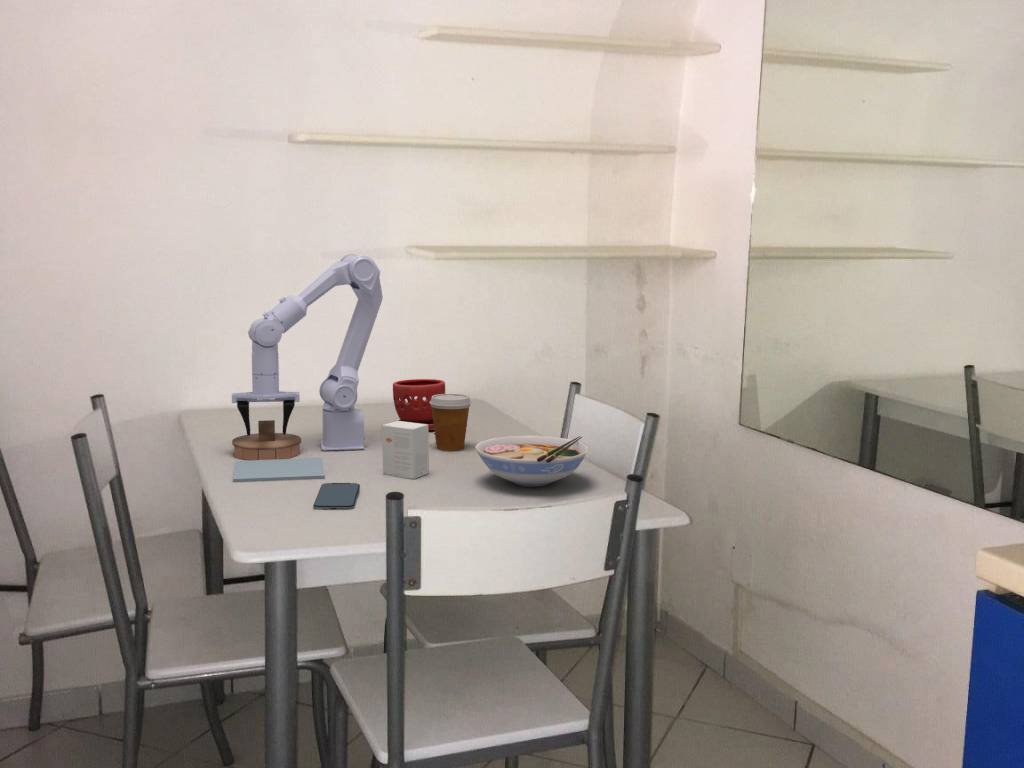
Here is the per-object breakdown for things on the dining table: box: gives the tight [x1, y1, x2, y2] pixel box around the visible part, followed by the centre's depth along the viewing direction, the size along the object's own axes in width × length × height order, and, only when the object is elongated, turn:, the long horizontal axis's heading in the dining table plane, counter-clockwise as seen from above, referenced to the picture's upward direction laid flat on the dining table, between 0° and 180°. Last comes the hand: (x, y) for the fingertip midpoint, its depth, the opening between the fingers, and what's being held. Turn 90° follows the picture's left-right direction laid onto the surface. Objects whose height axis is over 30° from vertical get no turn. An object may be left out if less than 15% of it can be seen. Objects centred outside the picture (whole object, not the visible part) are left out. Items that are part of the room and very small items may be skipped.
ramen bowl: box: [474, 435, 589, 488], centre depth 213 cm, size 25×23×8 cm
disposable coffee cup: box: [430, 393, 472, 452], centre depth 243 cm, size 10×10×12 cm
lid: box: [231, 419, 302, 450], centre depth 236 cm, size 15×15×5 cm
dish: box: [233, 444, 300, 461], centre depth 236 cm, size 14×14×2 cm
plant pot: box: [392, 378, 446, 432], centre depth 266 cm, size 13×13×12 cm
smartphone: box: [312, 482, 361, 511], centre depth 200 cm, size 8×2×15 cm
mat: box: [232, 457, 326, 483], centre depth 221 cm, size 18×16×1 cm
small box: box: [381, 420, 430, 480], centre depth 219 cm, size 8×6×10 cm
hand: (266, 434), depth 236 cm, fingers open, 7 cm apart
